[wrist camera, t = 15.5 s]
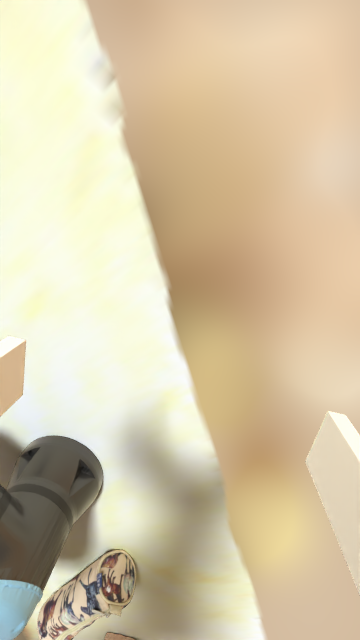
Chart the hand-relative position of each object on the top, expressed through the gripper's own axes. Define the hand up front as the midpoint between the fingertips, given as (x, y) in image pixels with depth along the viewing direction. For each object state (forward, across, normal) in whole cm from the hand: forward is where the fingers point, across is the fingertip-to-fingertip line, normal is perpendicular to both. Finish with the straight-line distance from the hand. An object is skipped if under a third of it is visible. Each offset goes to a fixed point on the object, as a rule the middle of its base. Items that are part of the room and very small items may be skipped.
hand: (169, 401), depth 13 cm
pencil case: (+31, -6, -65) cm, 72 cm away
